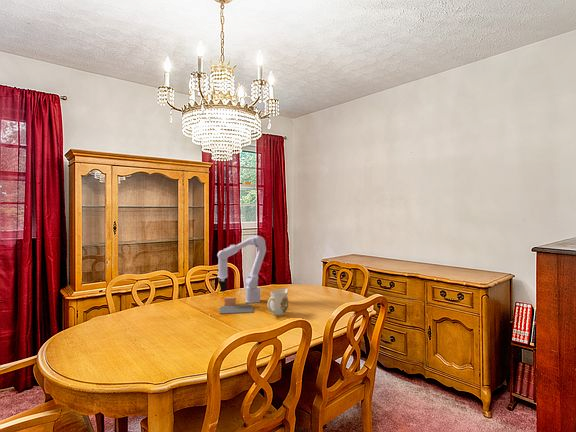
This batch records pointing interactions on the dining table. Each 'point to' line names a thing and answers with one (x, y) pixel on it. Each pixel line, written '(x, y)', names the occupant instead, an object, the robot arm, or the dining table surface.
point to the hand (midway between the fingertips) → (223, 290)
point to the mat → (236, 309)
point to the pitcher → (278, 302)
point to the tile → (230, 301)
